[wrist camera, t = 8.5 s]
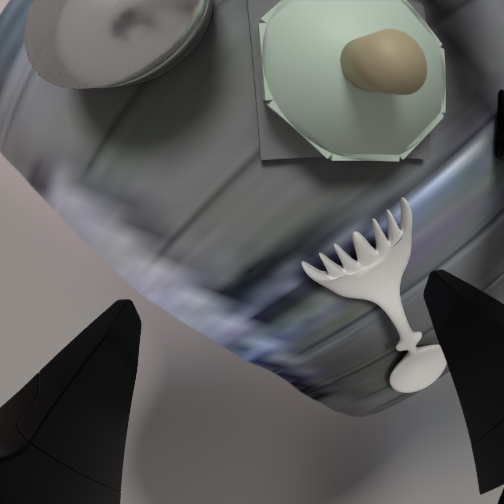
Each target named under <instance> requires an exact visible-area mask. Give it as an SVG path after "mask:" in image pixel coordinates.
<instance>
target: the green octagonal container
mask: <svg viewBox="0 0 504 504" xmlns="http://www.w3.org/2000/svg"><path fill="white" fill-rule="evenodd" d="M257 41H258V52H259V63H260V75H261V87H262V99H263V100H268V101H267V102H266V103H265V104H266V105H267V106H268V107H269V108H271V109H272V110H273V111H274V112H275V113H277V114H278V115H279V116H280V117H281V118H282V119H284V120H285V121H286V122H287V123H288V124H289V125H290V126H292V127H293V128H294V129H295V130H296V131H297V132H298V133H299V134H300V135H302V136H303V137H304V138H305V139H306V140H307V141H308V142H309V143H310V144H311V145H312V146H313V147H314V148H316V149H317V150H318V151H319V152H320V153H321V154H322V155H323V156H325V157H326V158H327V159H328V158H329V159H331V160H332V161H399V158H401V159H402V160H403V159H404V158H405V157H406V156H407V155H408V154H409V153H410V152H411V151H412V150H413V149H414V148H415V147H416V146H417V145H418V144H419V143H420V142H421V141H422V140H423V139H424V137H425V136H426V135H427V134H428V133H429V132H430V131H431V130H432V129H433V128H434V127H435V126H436V125H437V124H438V123H439V121H440V120H441V119H442V118H443V117H444V116H443V114H442V113H441V112H444V113H445V110H446V74H445V55H444V49H443V48H440V46H441V45H442V43H441V42H440V41H439V39H438V38H437V36H436V35H435V34H434V33H433V31H432V30H431V29H430V27H429V26H428V25H427V24H426V22H425V21H424V20H423V19H422V18H421V16H420V15H419V14H418V13H417V12H416V11H415V9H414V8H413V7H412V6H411V5H410V4H409V3H408V2H407V0H281V1H280V2H279V3H278V4H277V5H275V6H274V7H273V8H272V9H271V10H270V11H269V12H267V13H266V14H265V15H264V16H263V17H262V18H261V19H260V23H259V24H258V28H257Z"/></svg>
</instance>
